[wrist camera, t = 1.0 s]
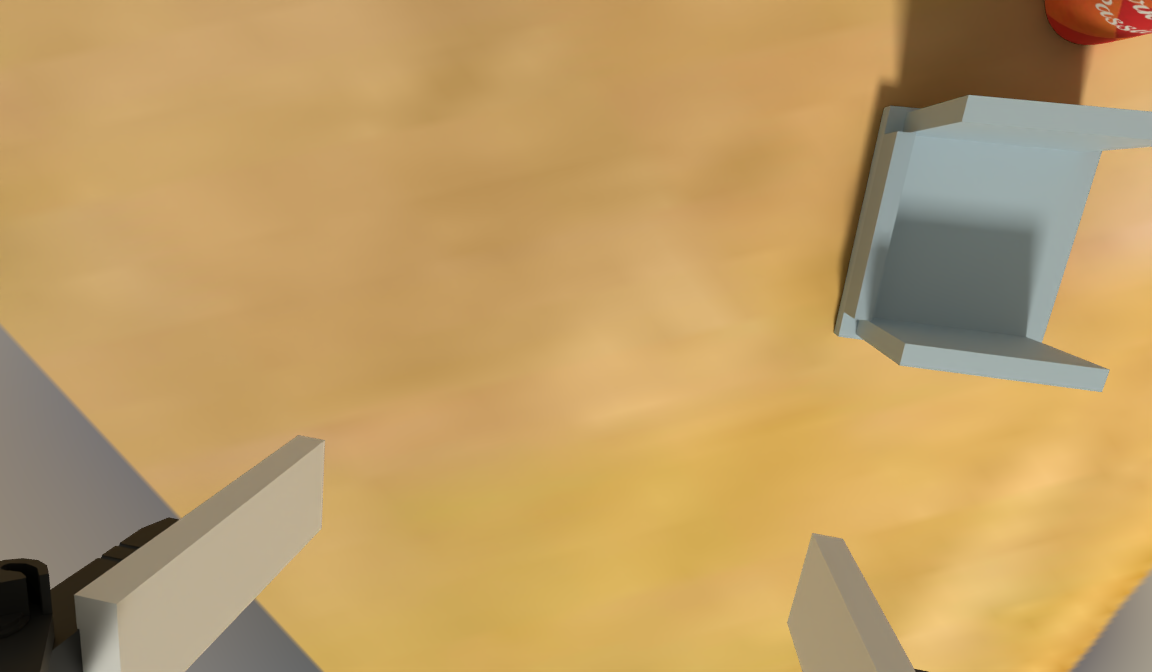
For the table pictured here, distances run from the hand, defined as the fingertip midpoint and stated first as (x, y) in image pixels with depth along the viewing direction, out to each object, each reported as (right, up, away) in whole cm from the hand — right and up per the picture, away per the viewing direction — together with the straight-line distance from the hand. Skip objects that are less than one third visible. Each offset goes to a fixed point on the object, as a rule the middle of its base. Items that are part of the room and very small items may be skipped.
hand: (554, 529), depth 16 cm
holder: (+24, +11, +21) cm, 34 cm away
